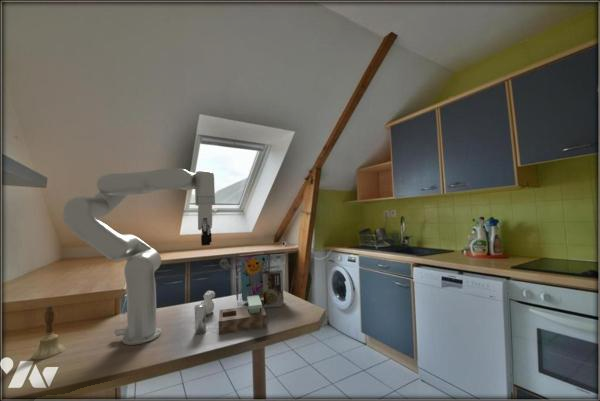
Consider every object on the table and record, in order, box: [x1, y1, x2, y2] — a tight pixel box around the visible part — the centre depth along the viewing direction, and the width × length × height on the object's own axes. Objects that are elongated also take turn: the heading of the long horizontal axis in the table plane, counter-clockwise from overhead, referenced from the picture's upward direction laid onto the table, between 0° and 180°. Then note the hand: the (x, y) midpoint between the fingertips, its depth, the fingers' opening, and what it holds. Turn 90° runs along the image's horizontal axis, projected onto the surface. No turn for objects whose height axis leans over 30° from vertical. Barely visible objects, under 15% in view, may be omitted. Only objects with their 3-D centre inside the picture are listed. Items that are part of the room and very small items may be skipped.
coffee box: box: [262, 269, 285, 308], centre depth 130 cm, size 9×6×16 cm
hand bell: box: [31, 305, 66, 361], centre depth 91 cm, size 8×8×16 cm
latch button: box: [246, 295, 263, 314], centre depth 109 cm, size 5×12×6 cm, turn 15°
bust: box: [200, 290, 216, 316], centre depth 121 cm, size 12×8×11 cm
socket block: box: [218, 304, 267, 335], centre depth 108 cm, size 18×12×5 cm, turn 105°
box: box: [219, 251, 272, 305], centre depth 133 cm, size 25×6×24 cm, turn 115°
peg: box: [194, 303, 207, 335], centre depth 103 cm, size 4×4×10 cm
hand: (206, 243), depth 107 cm, fingers open, 9 cm apart
